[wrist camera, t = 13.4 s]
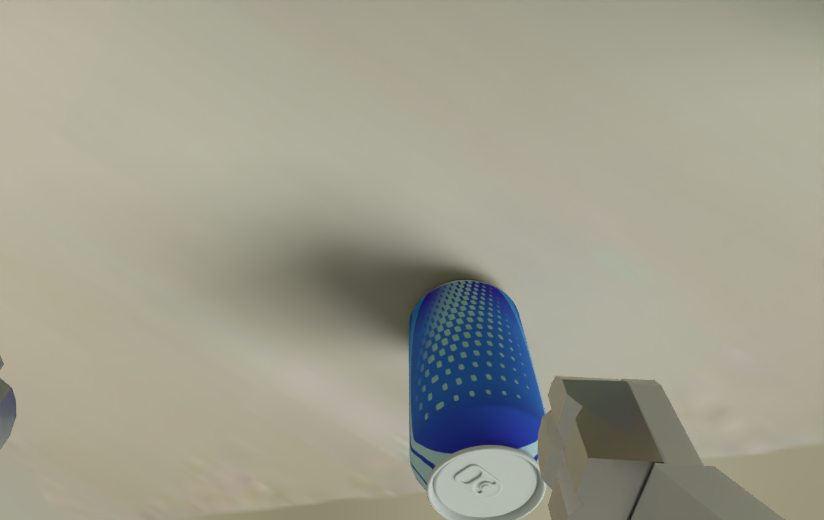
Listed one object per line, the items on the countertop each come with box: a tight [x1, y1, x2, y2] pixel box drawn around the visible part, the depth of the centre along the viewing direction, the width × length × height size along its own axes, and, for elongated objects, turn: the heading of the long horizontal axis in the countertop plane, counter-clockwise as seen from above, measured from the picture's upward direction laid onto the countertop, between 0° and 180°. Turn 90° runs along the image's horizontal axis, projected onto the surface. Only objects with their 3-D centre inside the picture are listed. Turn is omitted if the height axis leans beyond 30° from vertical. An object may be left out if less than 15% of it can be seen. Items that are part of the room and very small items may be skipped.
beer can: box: [409, 280, 546, 520], centre depth 40 cm, size 8×8×16 cm
